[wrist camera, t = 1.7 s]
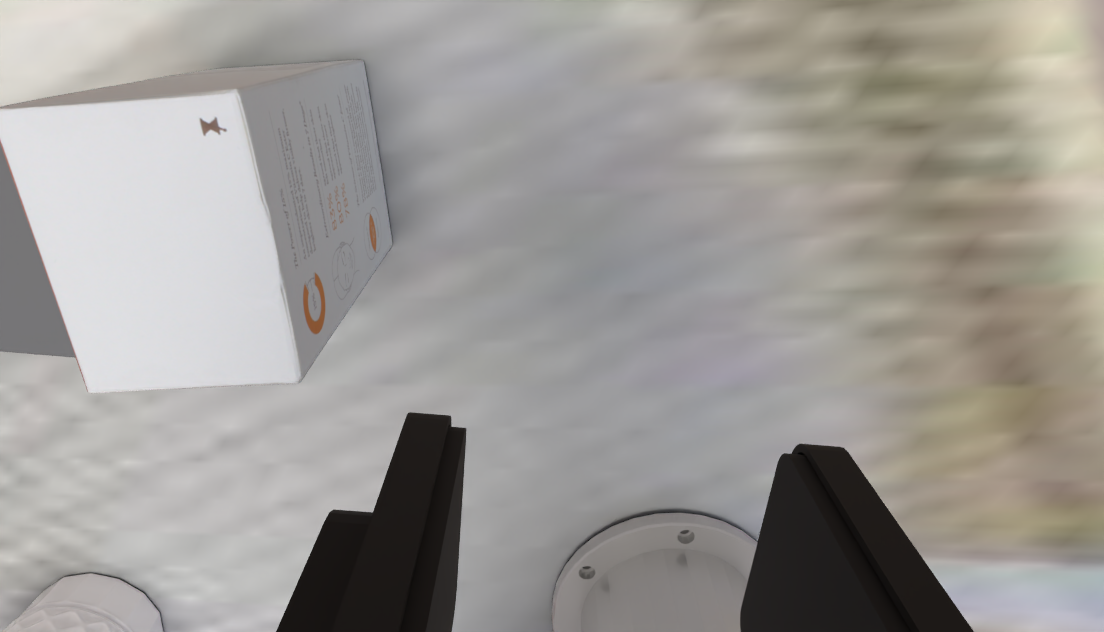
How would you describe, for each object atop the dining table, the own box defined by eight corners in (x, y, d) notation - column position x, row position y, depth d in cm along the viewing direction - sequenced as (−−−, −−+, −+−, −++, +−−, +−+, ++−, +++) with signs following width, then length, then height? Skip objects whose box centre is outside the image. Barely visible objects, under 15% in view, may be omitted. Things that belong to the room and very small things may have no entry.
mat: (206, 364, 34) (202, 367, 34) (-12, 346, 34) (-18, 349, 33) (184, 127, 30) (179, 128, 30) (-64, 103, 30) (-72, 104, 29)
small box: (210, 67, 29) (-23, 101, 17) (366, 56, 29) (241, 83, 17) (254, 258, 32) (83, 400, 20) (395, 249, 32) (307, 386, 20)
